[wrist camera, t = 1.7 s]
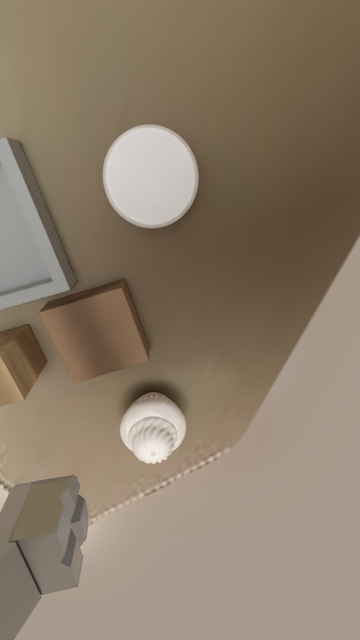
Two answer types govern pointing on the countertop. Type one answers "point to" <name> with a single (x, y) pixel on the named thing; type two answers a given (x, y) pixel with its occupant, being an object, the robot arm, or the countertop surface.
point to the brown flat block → (96, 331)
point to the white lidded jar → (153, 427)
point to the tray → (27, 235)
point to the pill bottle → (150, 176)
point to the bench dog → (19, 363)
